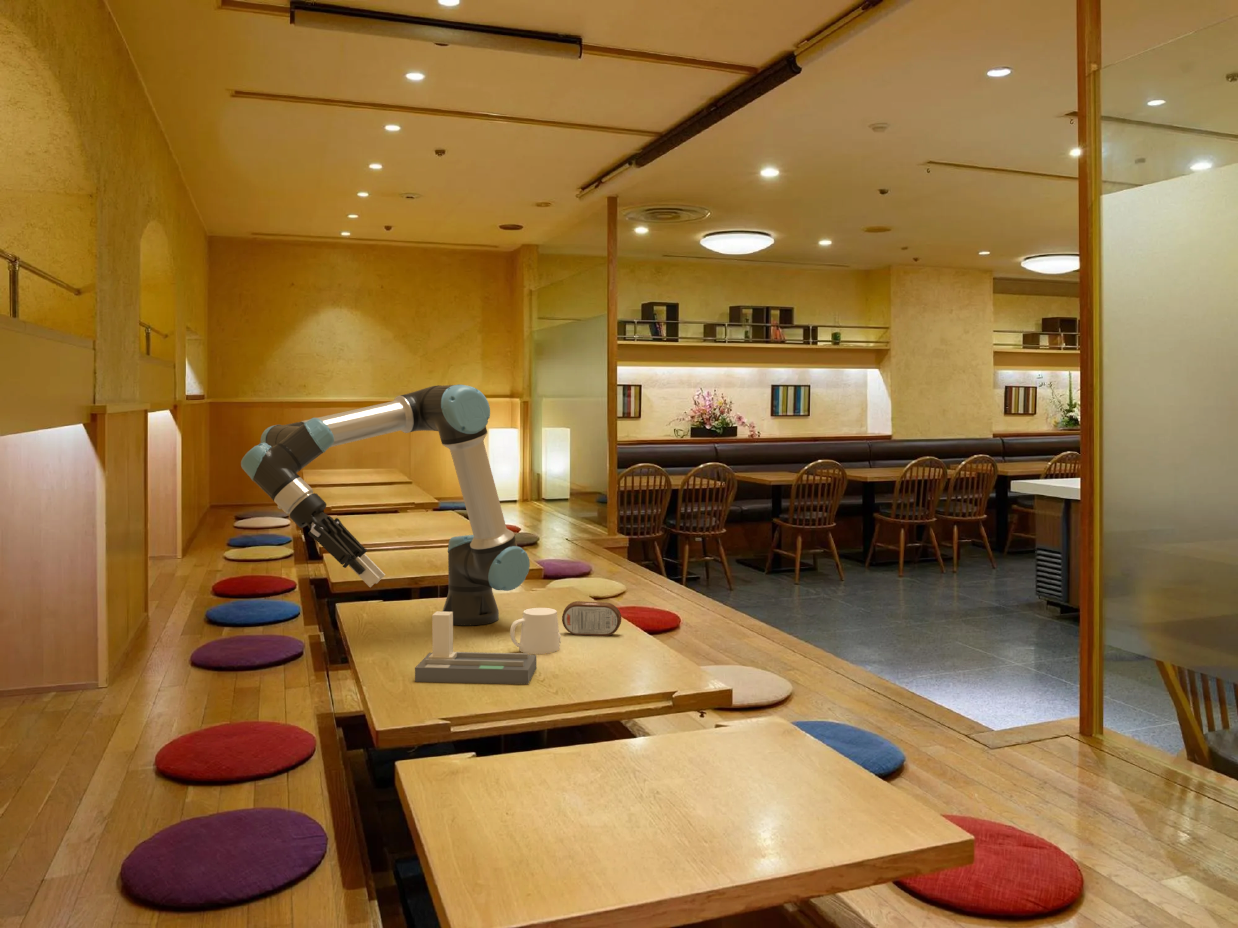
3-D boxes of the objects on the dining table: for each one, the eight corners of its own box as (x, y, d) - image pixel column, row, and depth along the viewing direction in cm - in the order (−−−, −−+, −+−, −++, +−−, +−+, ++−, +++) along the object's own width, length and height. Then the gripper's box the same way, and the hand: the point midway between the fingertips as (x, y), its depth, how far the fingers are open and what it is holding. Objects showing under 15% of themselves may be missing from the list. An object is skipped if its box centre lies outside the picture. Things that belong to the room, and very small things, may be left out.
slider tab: (434, 655, 208) (433, 610, 207) (456, 656, 208) (456, 611, 207) (428, 661, 203) (428, 615, 203) (452, 661, 203) (451, 615, 202)
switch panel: (429, 665, 212) (429, 648, 212) (536, 668, 211) (536, 650, 210) (415, 681, 200) (414, 662, 200) (528, 684, 199) (528, 665, 198)
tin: (621, 634, 242) (621, 601, 241) (620, 637, 239) (620, 604, 238) (562, 632, 243) (563, 600, 243) (561, 635, 240) (561, 602, 240)
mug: (552, 606, 231) (564, 612, 224) (552, 643, 232) (564, 651, 225) (505, 610, 226) (516, 617, 219) (505, 649, 227) (516, 657, 220)
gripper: (304, 511, 214) (377, 585, 214) (273, 520, 197) (353, 600, 197) (327, 488, 213) (400, 562, 213) (298, 495, 197) (378, 575, 197)
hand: (377, 580), depth 205 cm, fingers open, 3 cm apart
